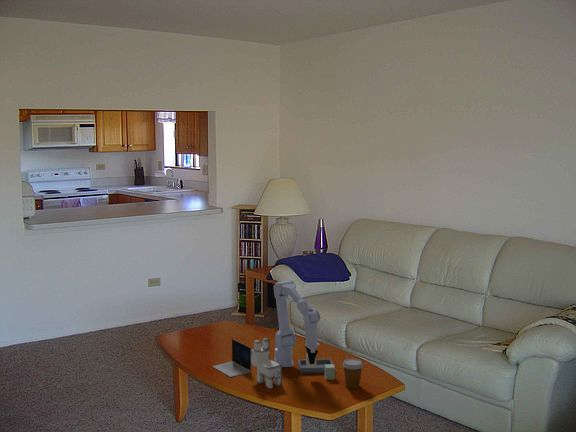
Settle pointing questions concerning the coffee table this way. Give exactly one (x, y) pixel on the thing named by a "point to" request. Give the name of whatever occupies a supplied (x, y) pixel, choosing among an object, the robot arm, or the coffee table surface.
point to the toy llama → (265, 364)
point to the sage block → (329, 371)
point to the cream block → (309, 363)
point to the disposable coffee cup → (352, 372)
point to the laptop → (237, 361)
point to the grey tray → (309, 370)
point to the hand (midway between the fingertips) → (311, 362)
